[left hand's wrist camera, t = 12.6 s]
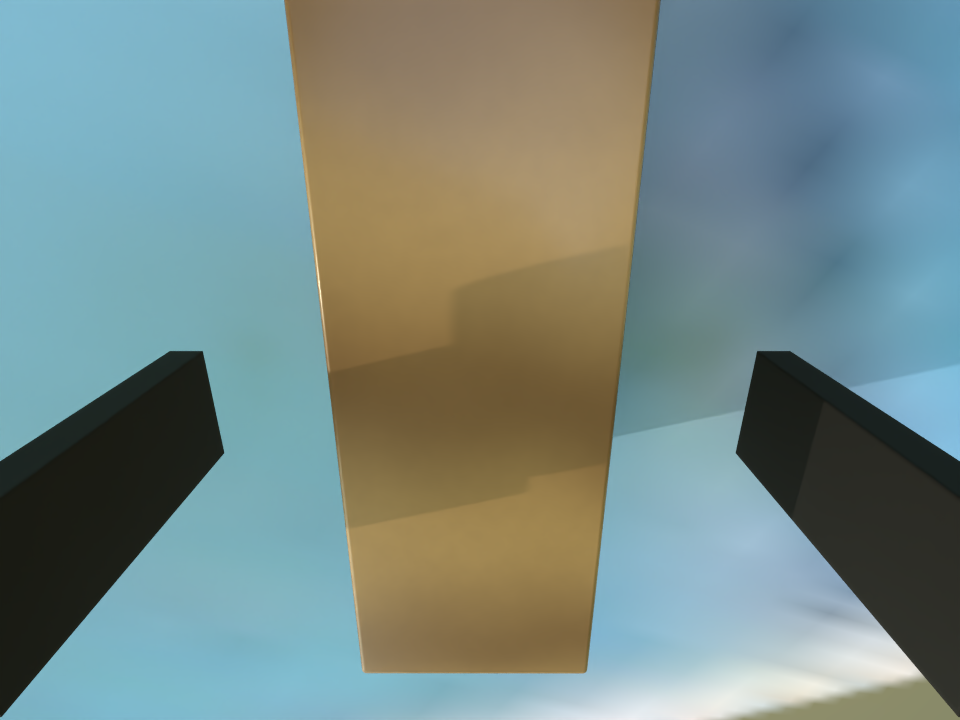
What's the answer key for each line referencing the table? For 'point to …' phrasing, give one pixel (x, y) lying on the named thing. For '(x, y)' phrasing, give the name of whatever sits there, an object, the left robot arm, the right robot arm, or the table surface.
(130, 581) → the table surface
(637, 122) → the bar
